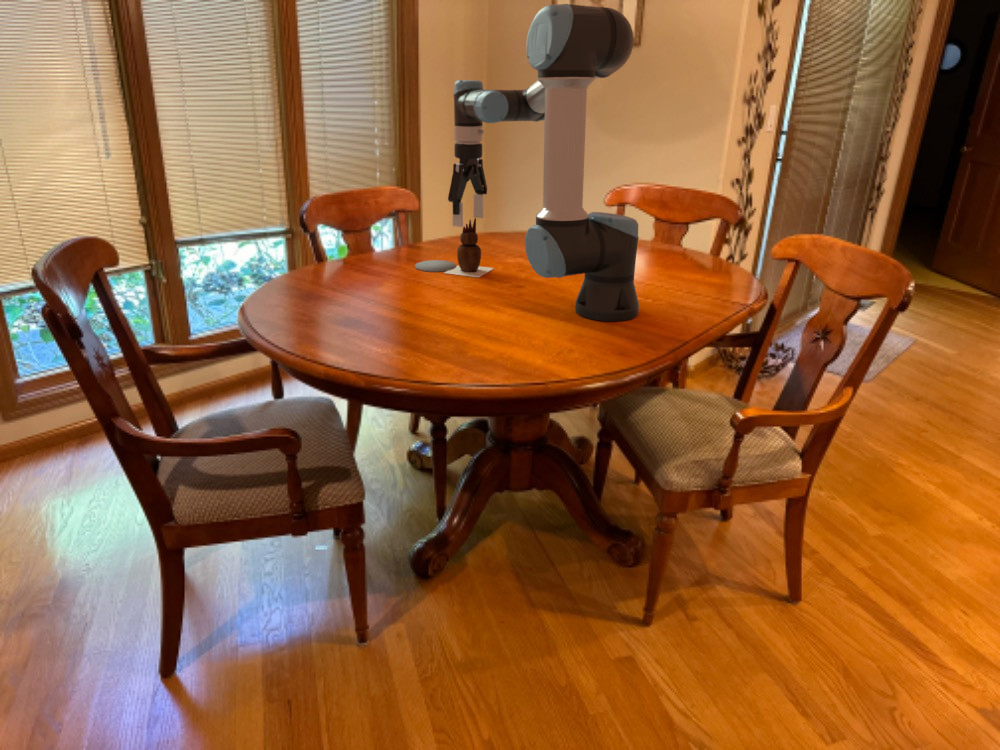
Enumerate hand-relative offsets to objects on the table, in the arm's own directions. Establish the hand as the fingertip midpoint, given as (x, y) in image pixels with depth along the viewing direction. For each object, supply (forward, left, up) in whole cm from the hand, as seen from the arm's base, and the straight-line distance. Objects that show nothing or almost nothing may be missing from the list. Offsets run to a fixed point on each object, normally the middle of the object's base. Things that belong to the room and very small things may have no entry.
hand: (468, 221), depth 193 cm
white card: (0, 0, -14) cm, 14 cm away
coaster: (0, +11, -14) cm, 18 cm away
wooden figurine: (0, 0, -14) cm, 14 cm away
